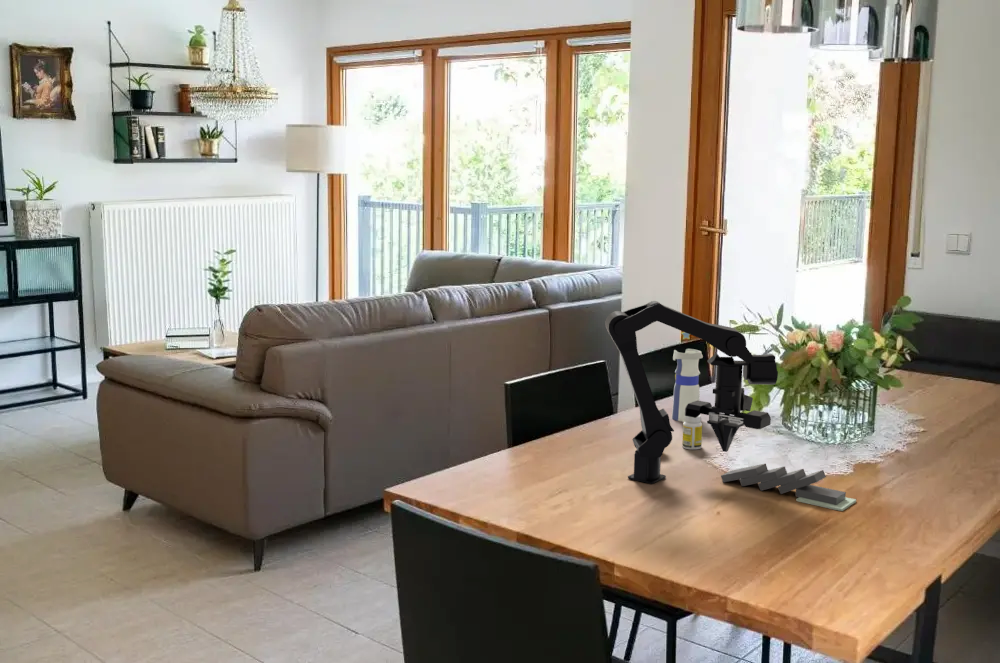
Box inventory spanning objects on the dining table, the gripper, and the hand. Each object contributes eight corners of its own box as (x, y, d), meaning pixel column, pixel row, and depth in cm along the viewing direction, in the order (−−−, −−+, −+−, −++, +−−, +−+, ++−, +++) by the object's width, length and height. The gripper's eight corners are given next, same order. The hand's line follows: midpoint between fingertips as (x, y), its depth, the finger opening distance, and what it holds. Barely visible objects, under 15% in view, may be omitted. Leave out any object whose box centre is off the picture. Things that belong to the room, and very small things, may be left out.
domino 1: (733, 477, 239) (767, 470, 233) (722, 482, 235) (758, 475, 229) (731, 470, 239) (765, 463, 233) (720, 475, 235) (755, 468, 229)
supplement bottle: (700, 445, 265) (701, 413, 264) (702, 450, 261) (703, 417, 259) (681, 444, 266) (682, 412, 264) (682, 449, 261) (684, 417, 260)
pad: (842, 511, 216) (842, 509, 216) (796, 500, 223) (796, 498, 223) (856, 501, 223) (856, 499, 222) (811, 492, 229) (811, 489, 229)
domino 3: (770, 485, 233) (806, 475, 227) (760, 490, 229) (796, 480, 224) (767, 478, 233) (803, 468, 228) (758, 484, 229) (793, 473, 224)
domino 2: (751, 481, 236) (787, 473, 230) (741, 486, 232) (777, 478, 226) (749, 474, 236) (784, 466, 230) (739, 479, 232) (775, 471, 226)
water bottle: (663, 416, 294) (666, 329, 290) (688, 413, 298) (692, 327, 294) (680, 423, 287) (683, 334, 283) (705, 420, 290) (709, 332, 286)
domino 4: (790, 488, 230) (826, 476, 225) (780, 494, 226) (817, 482, 221) (787, 481, 230) (823, 469, 225) (777, 487, 227) (813, 475, 221)
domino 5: (804, 490, 228) (845, 499, 222) (795, 496, 224) (836, 505, 219) (805, 483, 228) (845, 492, 222) (795, 489, 224) (836, 497, 218)
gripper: (783, 384, 234) (779, 451, 237) (708, 372, 246) (705, 437, 248) (761, 392, 226) (757, 462, 228) (685, 380, 237) (682, 446, 240)
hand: (725, 451), depth 236 cm, fingers closed
